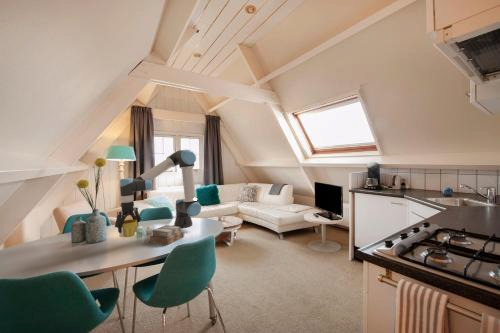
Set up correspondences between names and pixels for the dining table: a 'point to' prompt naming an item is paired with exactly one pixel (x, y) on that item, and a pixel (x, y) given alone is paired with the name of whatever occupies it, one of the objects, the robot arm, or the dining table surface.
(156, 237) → the tower plinth
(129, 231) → the plant pot
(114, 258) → the dining table surface
